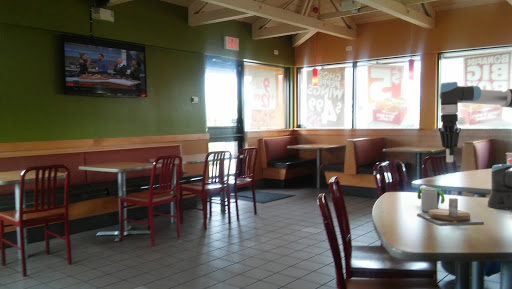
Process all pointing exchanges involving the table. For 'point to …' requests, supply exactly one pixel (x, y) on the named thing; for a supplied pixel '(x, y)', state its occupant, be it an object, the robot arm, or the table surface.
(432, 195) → the can
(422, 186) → the dagger
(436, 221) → the dial base
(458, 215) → the dial
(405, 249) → the table surface
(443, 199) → the snack cup
